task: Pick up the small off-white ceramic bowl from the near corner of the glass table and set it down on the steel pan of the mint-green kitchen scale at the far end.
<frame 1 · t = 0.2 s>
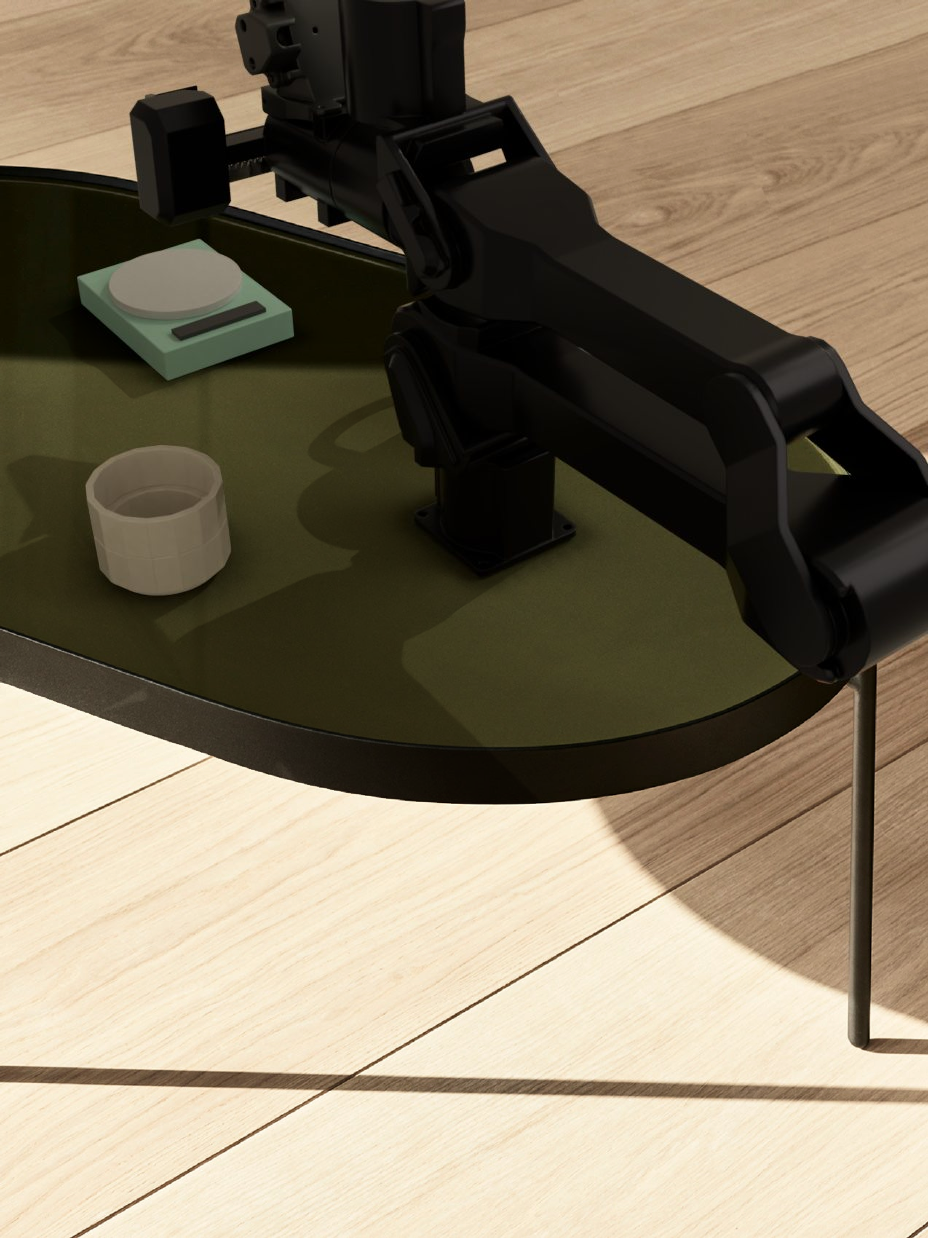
hand: (220, 86, 95), 16 cm above the table, tool horizontal, fingers open, 9 cm apart
cup: (516, 399, 100), on the table
bowl: (166, 560, 88), on the table
scale: (186, 320, 108), on the table
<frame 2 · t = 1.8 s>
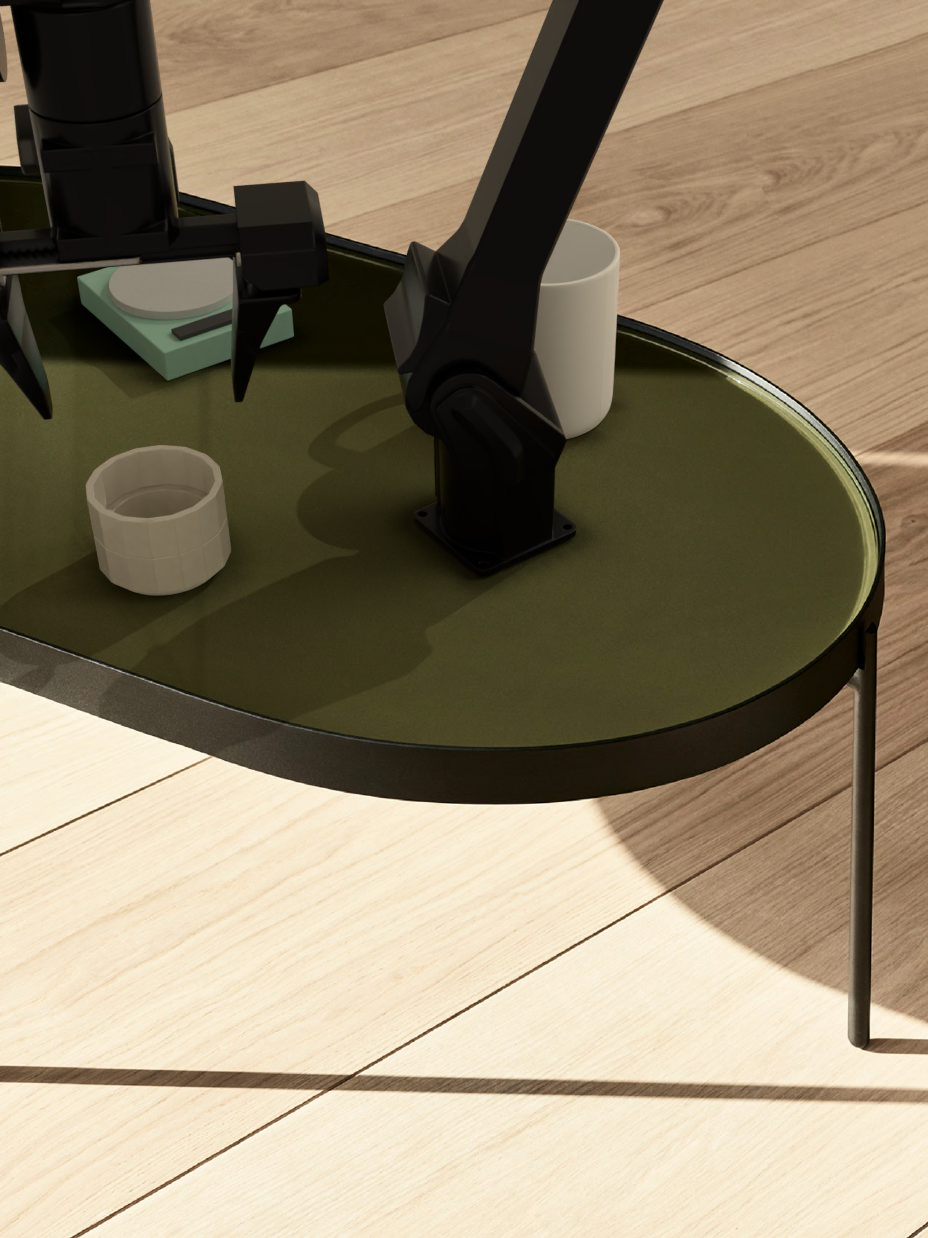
hand: (144, 406, 82), 9 cm above the table, tool pointing down, fingers open, 9 cm apart
nothing on the table moved.
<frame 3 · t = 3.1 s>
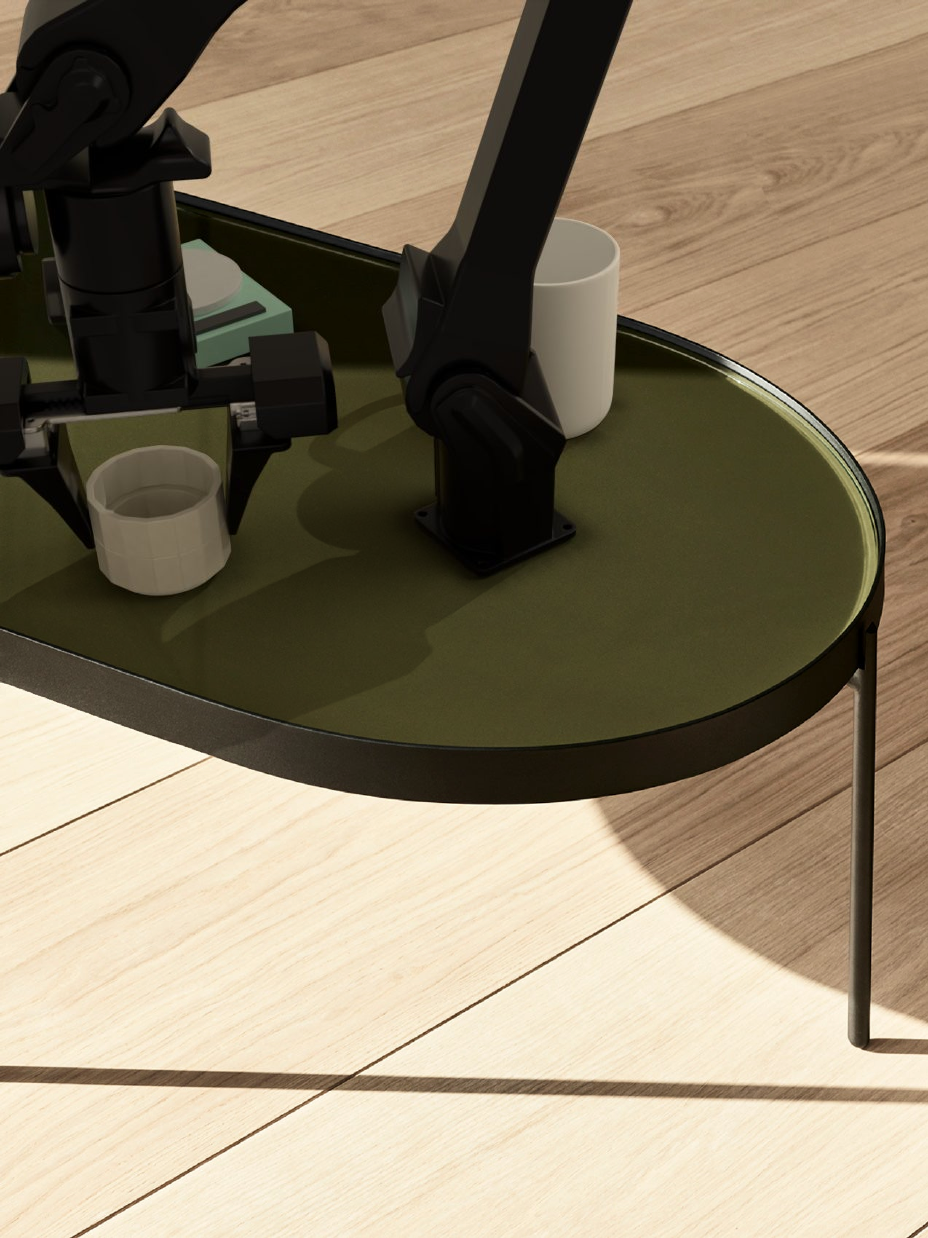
hand: (163, 537, 87), 2 cm above the table, tool pointing down, fingers closed on bowl, 7 cm apart
bowl: (166, 560, 88), on the table, touching gripper
everything else where it was.
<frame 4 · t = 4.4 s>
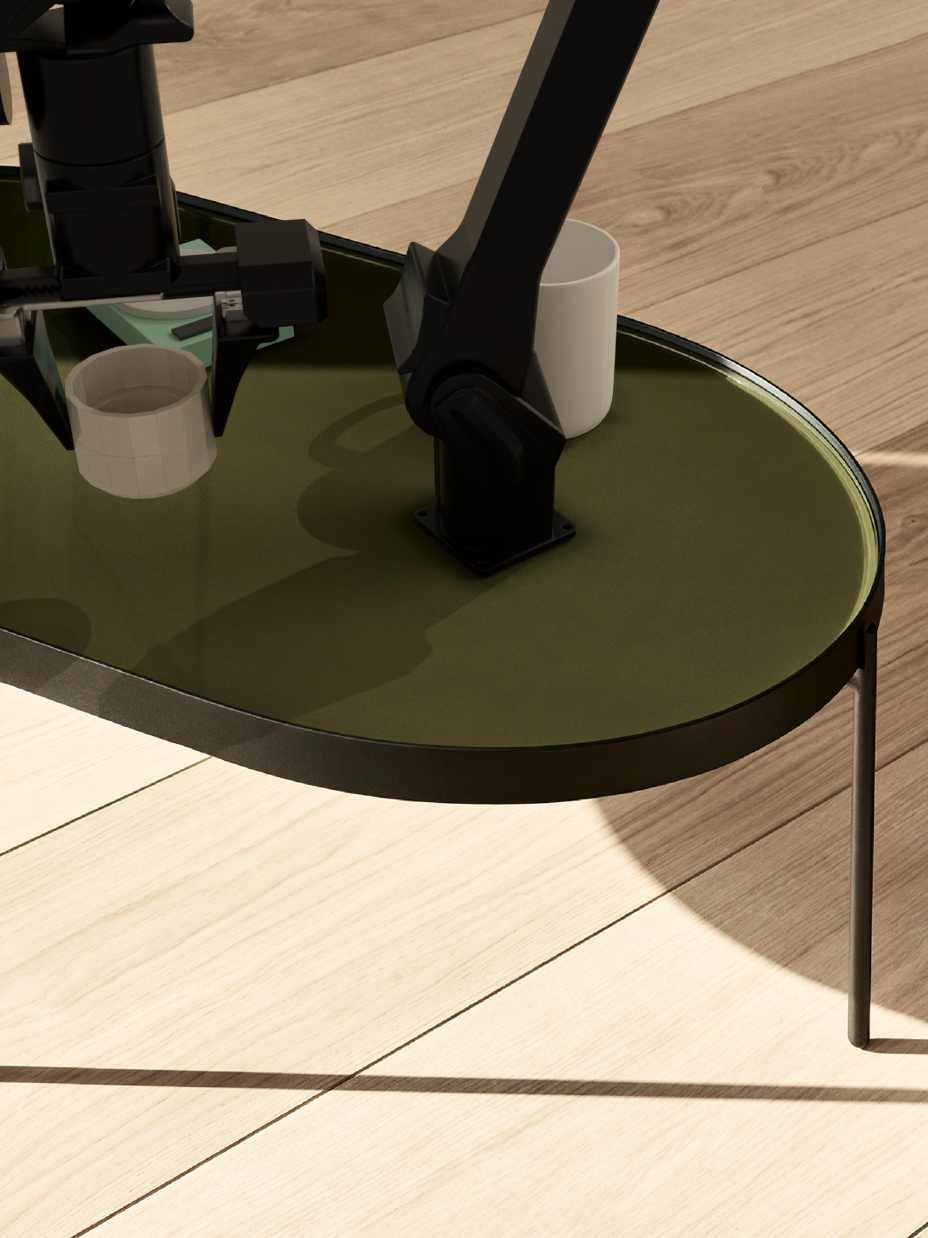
hand: (145, 439, 83), 8 cm above the table, tool pointing down, fingers closed on bowl, 7 cm apart
bowl: (149, 465, 84), point 6 cm above the table, touching gripper
everything else where it was.
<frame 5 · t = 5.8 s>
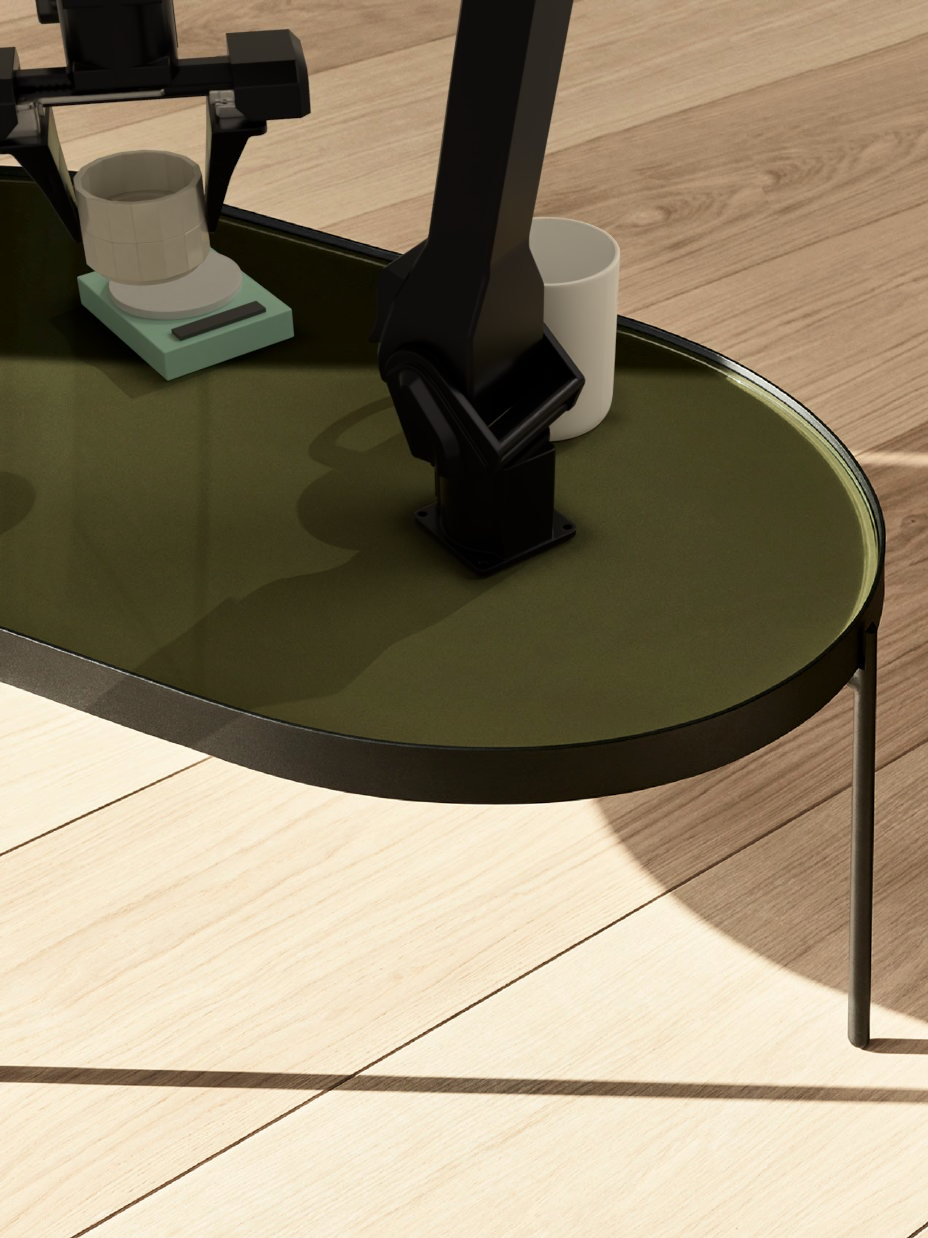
hand: (146, 234, 93), 11 cm above the table, tool pointing down, fingers closed on bowl, 7 cm apart
bowl: (149, 260, 94), point 10 cm above the table, touching gripper
everything else where it was.
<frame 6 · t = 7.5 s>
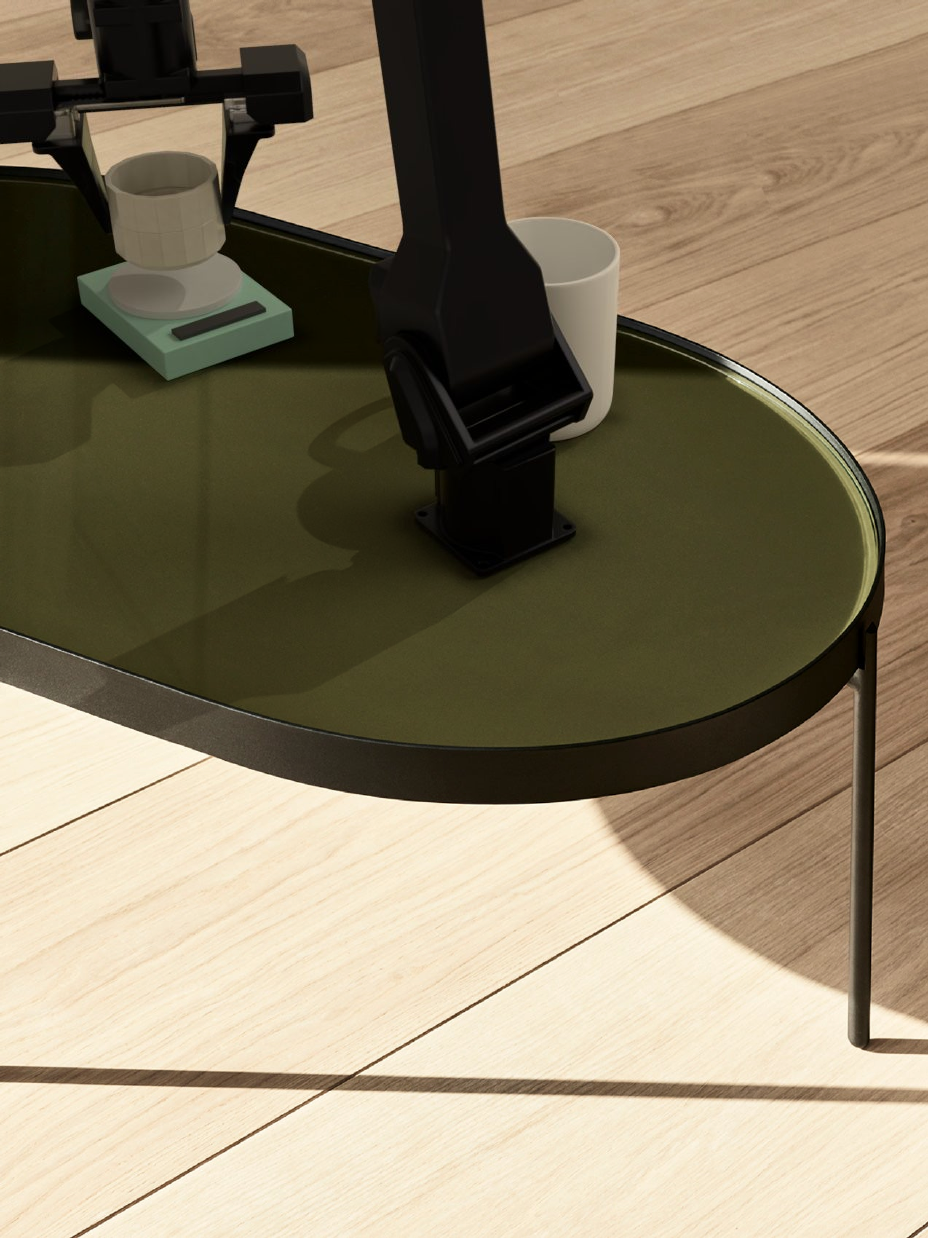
hand: (168, 226, 104), 6 cm above the table, tool pointing down, fingers closed on bowl, 7 cm apart
bowl: (171, 248, 105), point 5 cm above the table, touching gripper
everything else where it was.
when the fingers open (4 cm above the table, at t = 8.7 s): bowl stays where it is, resting on scale.
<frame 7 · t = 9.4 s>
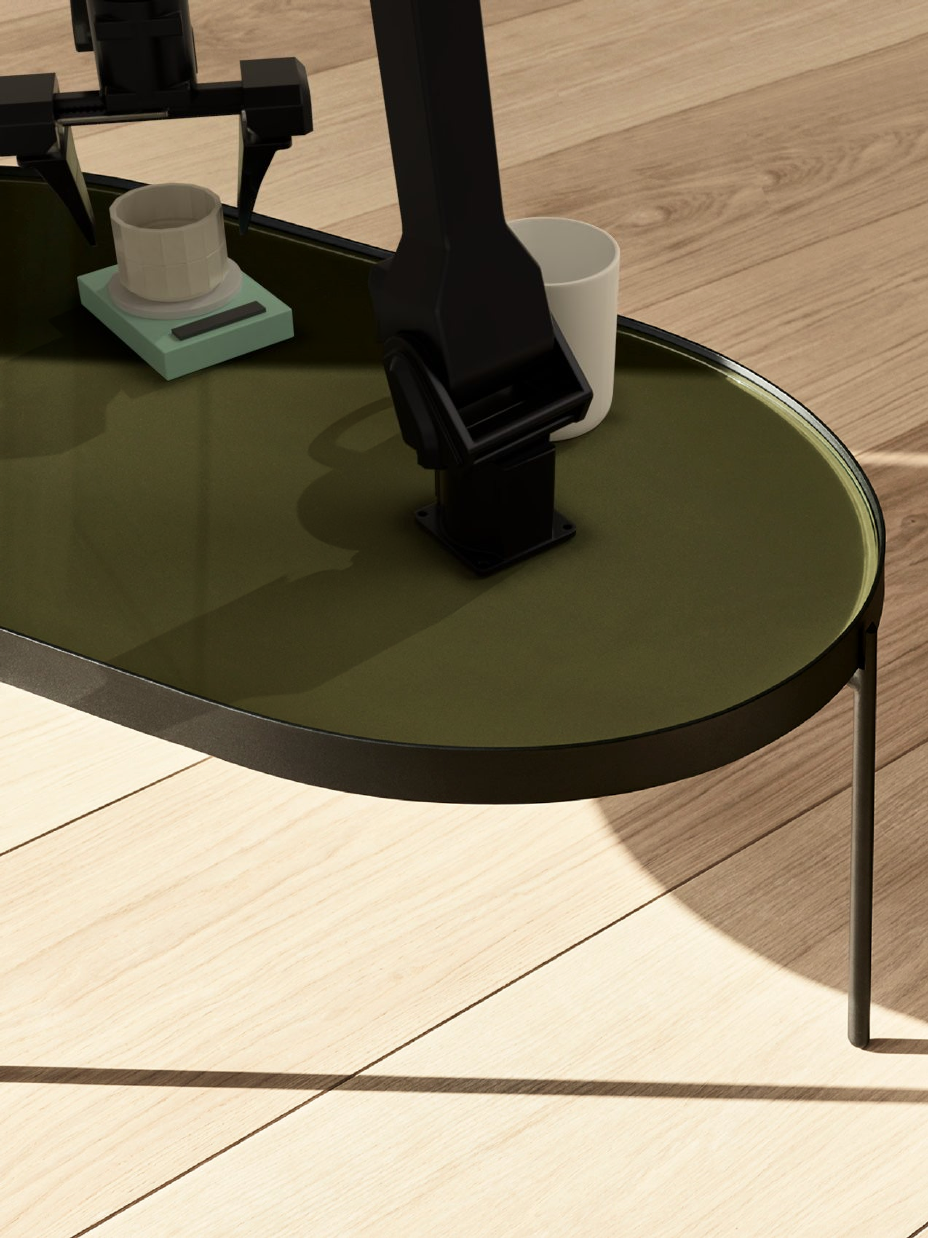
hand: (169, 237, 105), 5 cm above the table, tool pointing down, fingers open, 9 cm apart
bowl: (175, 279, 107), point 3 cm above the table, touching scale
everything else where it was.
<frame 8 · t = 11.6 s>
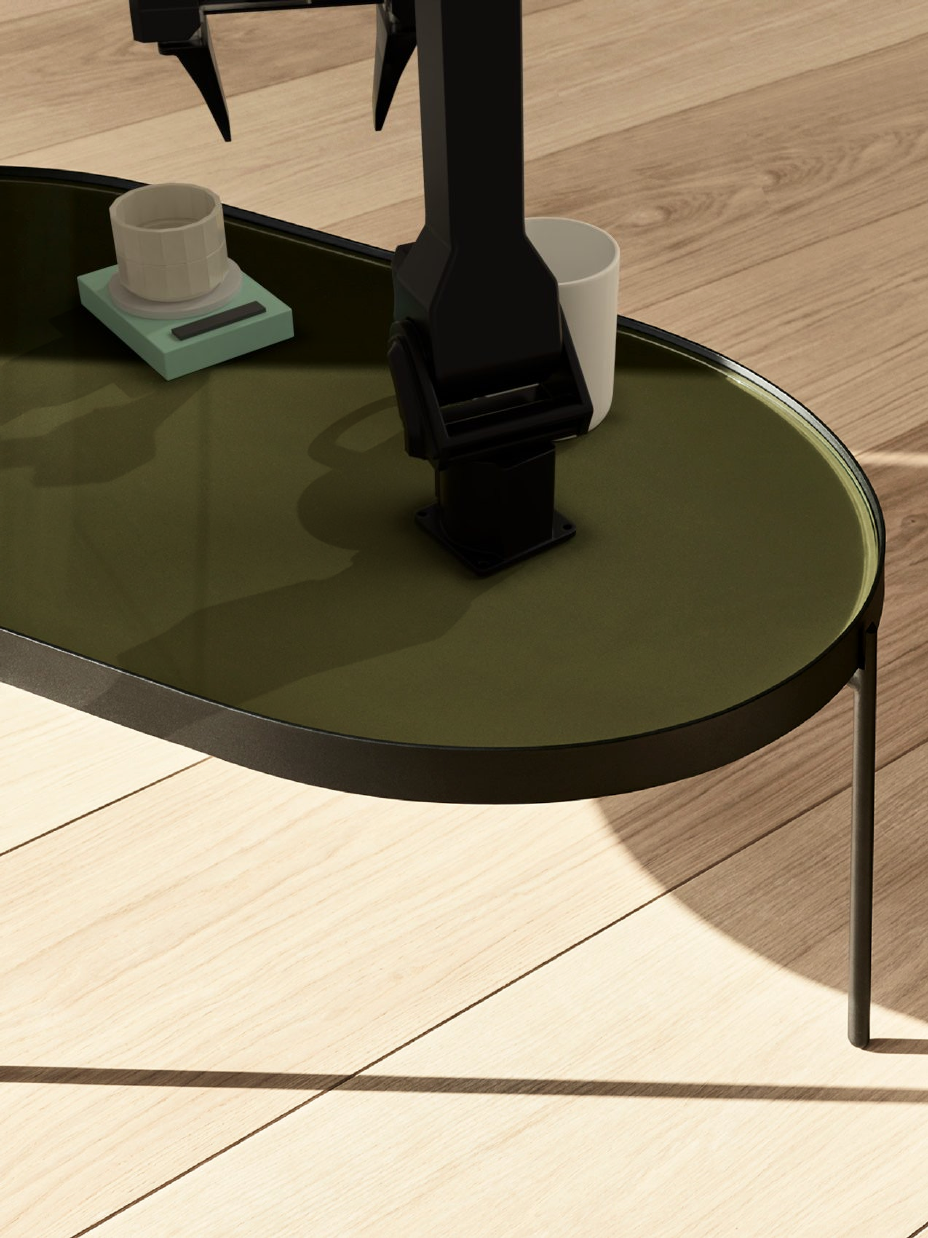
hand: (303, 133, 103), 11 cm above the table, tool pointing down, fingers open, 9 cm apart
nothing on the table moved.
at the end: bowl inside the target area on the scale (0.1 cm from its centre), point 2.6 cm above the scale's base; bowl tilted 0°; the gripper is holding nothing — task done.
